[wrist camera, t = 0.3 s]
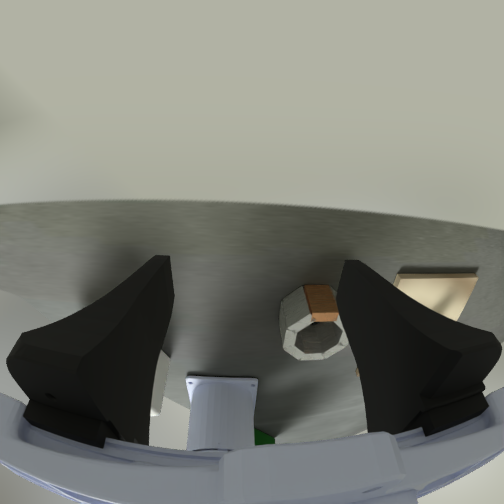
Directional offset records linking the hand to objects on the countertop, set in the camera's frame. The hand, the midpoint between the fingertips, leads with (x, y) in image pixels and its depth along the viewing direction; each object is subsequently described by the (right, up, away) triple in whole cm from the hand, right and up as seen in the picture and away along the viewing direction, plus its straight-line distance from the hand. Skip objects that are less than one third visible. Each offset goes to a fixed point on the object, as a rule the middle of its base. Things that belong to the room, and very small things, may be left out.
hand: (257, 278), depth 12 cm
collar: (+5, -4, +14) cm, 15 cm away
